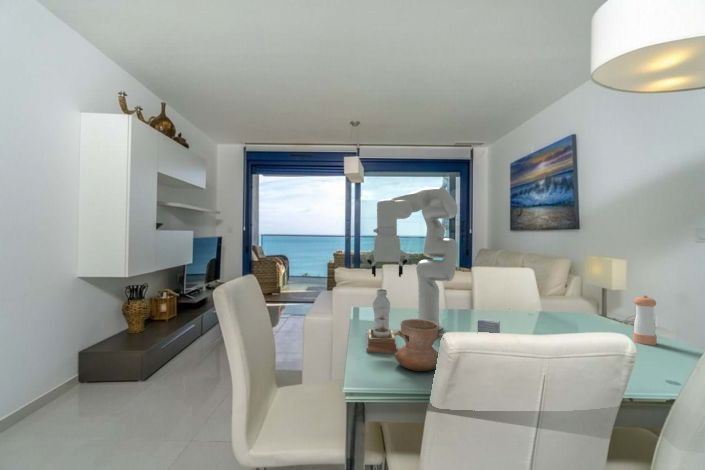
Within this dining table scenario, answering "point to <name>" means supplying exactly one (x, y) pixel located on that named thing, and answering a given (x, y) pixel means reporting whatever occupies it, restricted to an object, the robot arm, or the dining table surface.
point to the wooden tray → (380, 346)
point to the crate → (381, 340)
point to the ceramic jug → (418, 344)
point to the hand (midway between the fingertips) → (387, 276)
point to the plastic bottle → (381, 315)
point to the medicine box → (488, 326)
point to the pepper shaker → (644, 321)
